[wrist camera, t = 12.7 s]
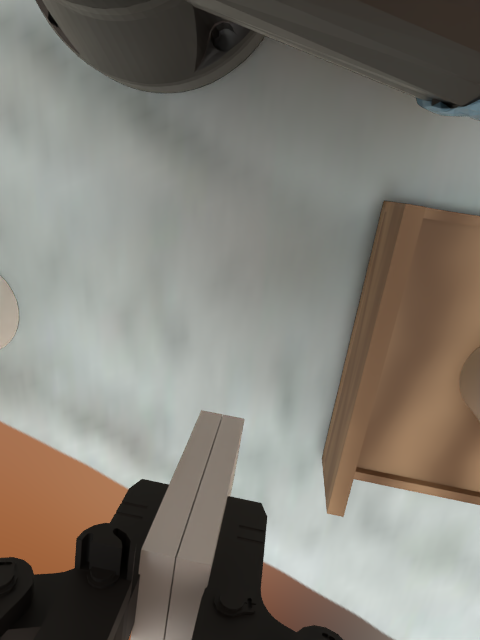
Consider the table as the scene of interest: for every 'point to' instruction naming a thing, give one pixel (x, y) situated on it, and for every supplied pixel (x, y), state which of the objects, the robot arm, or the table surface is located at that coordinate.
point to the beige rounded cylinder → (471, 382)
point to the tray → (410, 363)
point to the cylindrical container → (7, 313)
